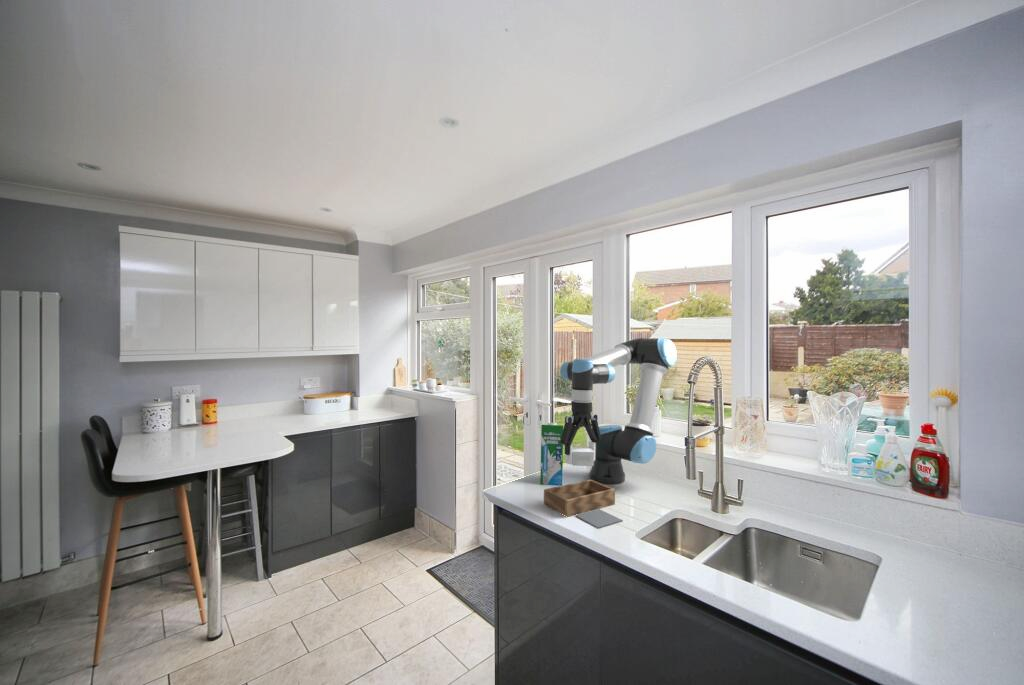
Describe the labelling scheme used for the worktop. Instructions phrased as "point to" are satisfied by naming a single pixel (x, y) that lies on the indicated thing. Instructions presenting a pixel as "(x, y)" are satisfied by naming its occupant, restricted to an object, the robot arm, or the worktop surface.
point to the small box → (582, 456)
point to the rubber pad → (599, 518)
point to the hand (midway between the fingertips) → (580, 461)
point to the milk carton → (551, 454)
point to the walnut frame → (579, 497)
